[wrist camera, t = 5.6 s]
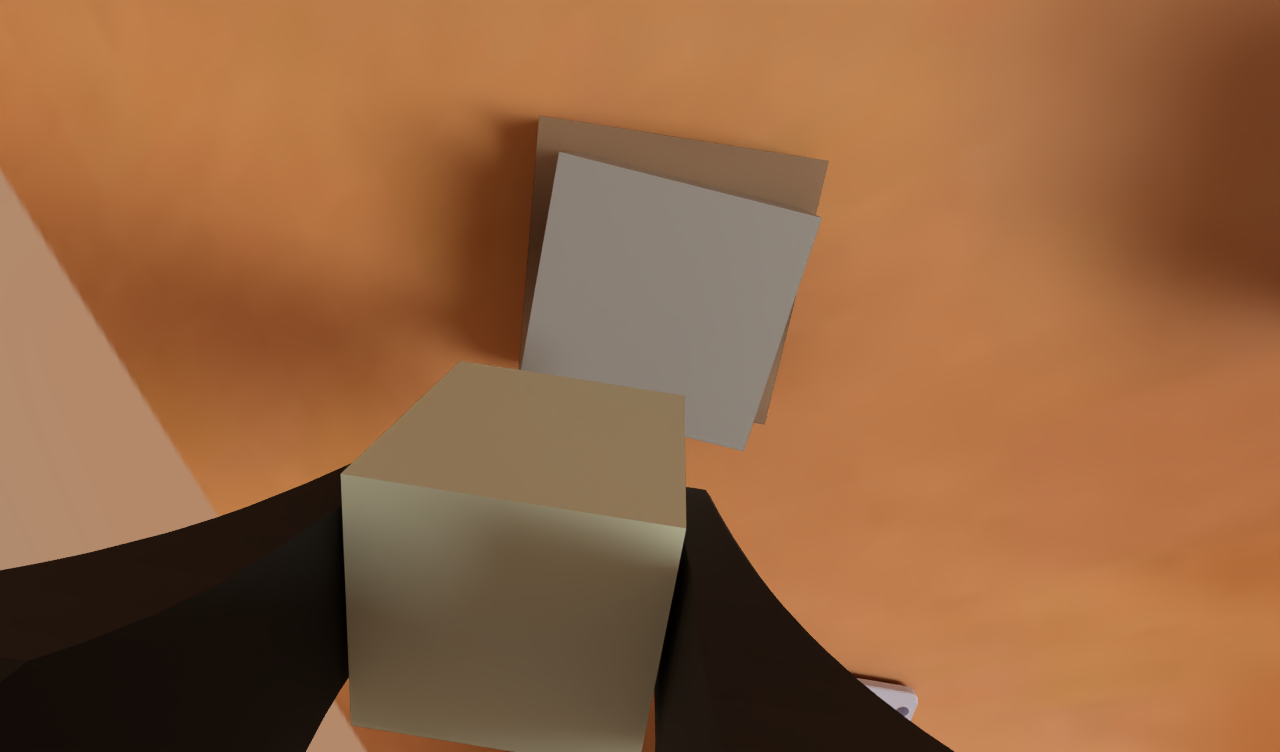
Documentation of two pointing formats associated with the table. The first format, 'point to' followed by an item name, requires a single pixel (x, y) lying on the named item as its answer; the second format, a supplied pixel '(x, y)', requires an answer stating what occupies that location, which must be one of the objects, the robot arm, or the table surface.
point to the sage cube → (515, 561)
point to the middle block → (666, 289)
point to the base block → (678, 158)
